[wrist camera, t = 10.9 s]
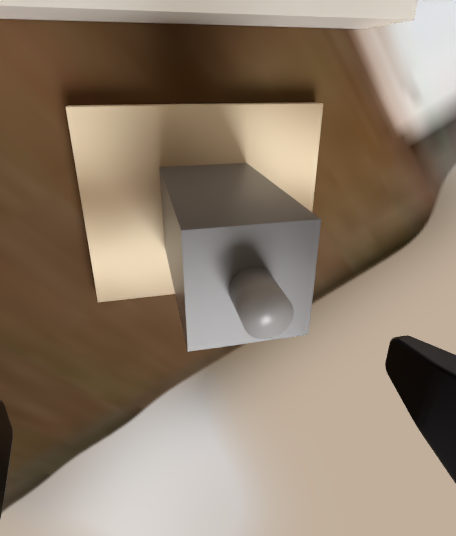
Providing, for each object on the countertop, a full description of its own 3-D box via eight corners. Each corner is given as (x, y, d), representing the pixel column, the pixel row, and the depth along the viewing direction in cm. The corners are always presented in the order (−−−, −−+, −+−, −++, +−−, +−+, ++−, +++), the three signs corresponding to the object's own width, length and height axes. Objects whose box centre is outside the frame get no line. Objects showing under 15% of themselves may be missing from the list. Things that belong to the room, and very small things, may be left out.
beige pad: (299, 273, 23) (305, 279, 22) (98, 294, 20) (97, 302, 20) (315, 102, 19) (323, 103, 18) (68, 105, 16) (65, 106, 16)
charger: (245, 243, 20) (330, 366, 12) (165, 250, 19) (195, 387, 11) (246, 163, 18) (348, 239, 10) (159, 166, 17) (189, 254, 9)
